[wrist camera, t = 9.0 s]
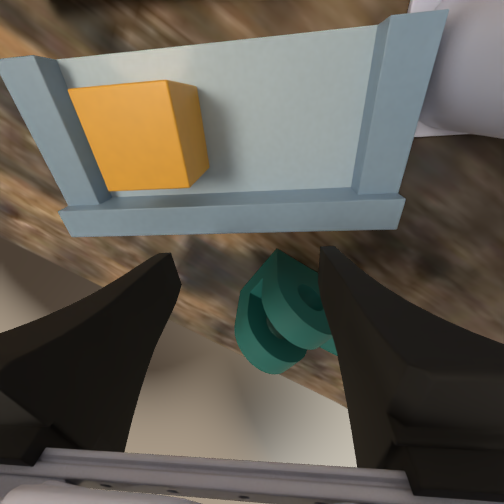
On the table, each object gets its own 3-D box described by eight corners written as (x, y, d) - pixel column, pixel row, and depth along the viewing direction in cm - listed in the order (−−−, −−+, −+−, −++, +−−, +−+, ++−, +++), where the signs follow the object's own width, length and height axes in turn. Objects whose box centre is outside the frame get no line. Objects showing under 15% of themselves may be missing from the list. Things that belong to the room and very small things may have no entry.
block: (197, 85, 13) (166, 79, 9) (210, 167, 16) (190, 188, 12) (123, 92, 14) (65, 88, 10) (146, 171, 16) (108, 192, 12)
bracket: (240, 290, 25) (229, 356, 19) (276, 248, 22) (278, 310, 16) (359, 353, 30) (384, 424, 23) (405, 325, 26) (448, 399, 20)
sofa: (401, 34, 14) (466, -1, 9) (366, 198, 19) (397, 229, 14) (58, 69, 16) (-30, 56, 11) (115, 208, 21) (71, 237, 16)
